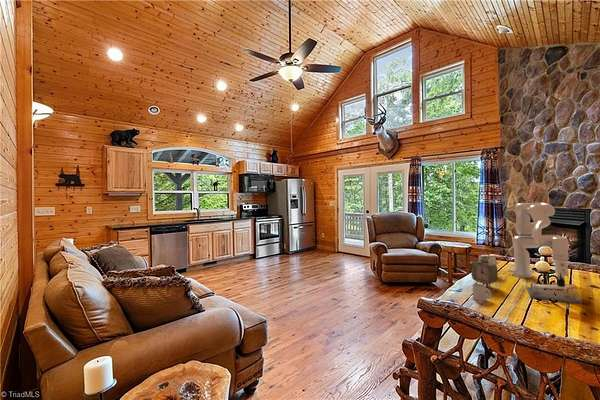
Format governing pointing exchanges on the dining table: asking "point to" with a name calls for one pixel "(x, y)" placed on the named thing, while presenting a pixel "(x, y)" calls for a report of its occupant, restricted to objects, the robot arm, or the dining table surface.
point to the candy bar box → (489, 258)
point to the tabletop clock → (484, 271)
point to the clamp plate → (562, 296)
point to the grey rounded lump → (480, 292)
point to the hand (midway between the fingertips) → (561, 285)
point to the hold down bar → (556, 286)
